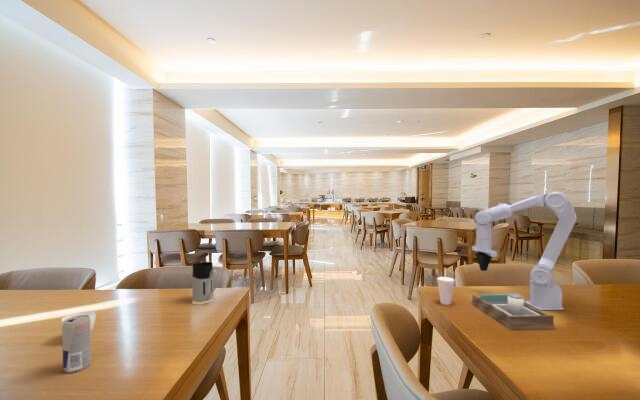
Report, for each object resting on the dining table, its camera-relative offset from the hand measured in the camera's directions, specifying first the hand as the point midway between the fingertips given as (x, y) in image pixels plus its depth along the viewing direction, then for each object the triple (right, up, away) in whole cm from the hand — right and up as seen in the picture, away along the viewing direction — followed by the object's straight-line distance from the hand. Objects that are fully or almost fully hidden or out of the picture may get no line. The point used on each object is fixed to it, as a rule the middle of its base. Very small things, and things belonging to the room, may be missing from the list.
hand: (483, 270), depth 123 cm
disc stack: (-3, -9, -24) cm, 26 cm away
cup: (-143, -12, -36) cm, 147 cm away
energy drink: (-131, -12, -51) cm, 141 cm away
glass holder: (-116, -11, -8) cm, 117 cm away
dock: (-3, -11, -22) cm, 25 cm away
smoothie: (-21, -11, -10) cm, 25 cm away
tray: (-3, -10, -22) cm, 24 cm away
